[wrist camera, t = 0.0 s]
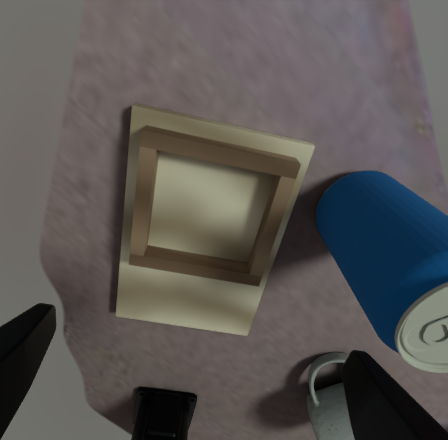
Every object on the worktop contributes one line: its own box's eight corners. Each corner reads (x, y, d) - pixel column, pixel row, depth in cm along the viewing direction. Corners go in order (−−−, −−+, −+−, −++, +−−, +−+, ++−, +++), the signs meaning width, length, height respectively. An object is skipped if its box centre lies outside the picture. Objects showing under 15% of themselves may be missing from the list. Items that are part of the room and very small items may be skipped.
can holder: (246, 327, 29) (248, 349, 27) (119, 307, 28) (110, 329, 26) (311, 142, 21) (321, 152, 19) (135, 103, 20) (125, 108, 18)
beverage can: (407, 222, 24) (553, 349, 14) (328, 255, 26) (406, 394, 15) (385, 150, 22) (546, 240, 11) (299, 192, 23) (368, 307, 12)
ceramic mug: (394, 392, 34) (437, 474, 27) (326, 416, 36) (350, 498, 29) (358, 334, 30) (397, 413, 23) (284, 365, 32) (301, 446, 25)
